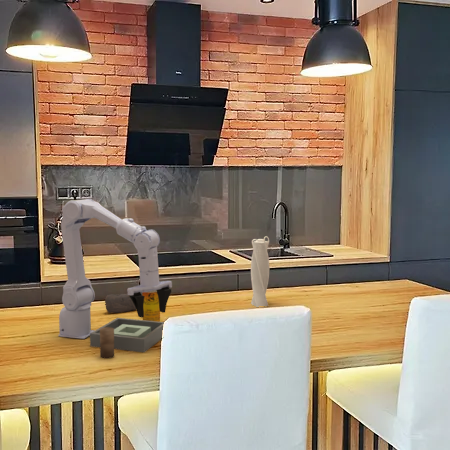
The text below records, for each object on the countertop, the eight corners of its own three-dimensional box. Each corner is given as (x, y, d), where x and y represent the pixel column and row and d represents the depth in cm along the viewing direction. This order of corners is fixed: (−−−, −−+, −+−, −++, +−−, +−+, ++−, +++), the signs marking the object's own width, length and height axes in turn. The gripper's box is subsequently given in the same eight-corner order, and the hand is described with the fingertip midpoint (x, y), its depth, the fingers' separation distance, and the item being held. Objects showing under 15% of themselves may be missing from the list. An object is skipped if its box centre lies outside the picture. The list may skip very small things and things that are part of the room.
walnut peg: (97, 357, 159) (97, 330, 158) (104, 353, 163) (104, 326, 162) (110, 359, 158) (109, 331, 157) (116, 354, 162) (116, 327, 161)
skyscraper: (272, 307, 216) (274, 236, 212) (255, 309, 213) (256, 237, 210) (263, 302, 223) (265, 233, 220) (247, 304, 220) (248, 234, 217)
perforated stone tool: (141, 307, 213) (141, 290, 212) (145, 311, 208) (145, 293, 208) (102, 312, 207) (102, 293, 206) (105, 315, 202) (105, 297, 202)
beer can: (143, 326, 189) (143, 283, 187) (141, 321, 195) (141, 279, 193) (161, 325, 191) (161, 282, 189) (158, 320, 197) (158, 278, 195)
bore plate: (108, 340, 171) (108, 333, 171) (122, 331, 181) (122, 324, 180) (137, 344, 168) (137, 336, 168) (151, 334, 178) (151, 326, 177)
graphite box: (90, 346, 168) (89, 333, 168) (117, 329, 186) (117, 317, 185) (144, 352, 163) (144, 339, 163) (167, 334, 181) (167, 322, 180)
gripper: (134, 275, 160) (137, 321, 161) (176, 268, 168) (179, 311, 170) (122, 273, 165) (125, 317, 166) (163, 266, 174) (166, 308, 175)
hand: (151, 314), depth 168 cm, fingers open, 7 cm apart
